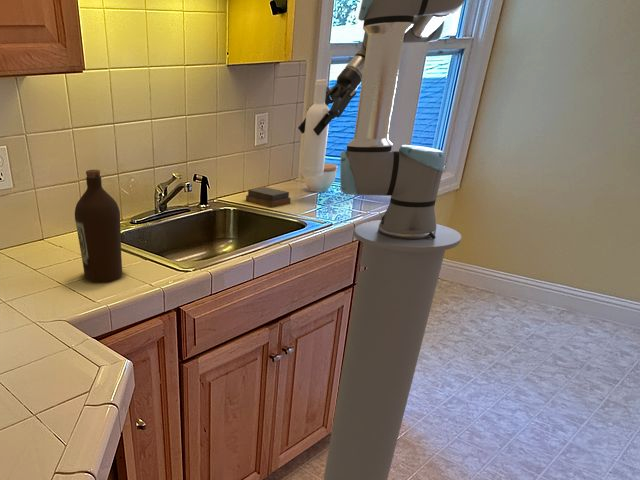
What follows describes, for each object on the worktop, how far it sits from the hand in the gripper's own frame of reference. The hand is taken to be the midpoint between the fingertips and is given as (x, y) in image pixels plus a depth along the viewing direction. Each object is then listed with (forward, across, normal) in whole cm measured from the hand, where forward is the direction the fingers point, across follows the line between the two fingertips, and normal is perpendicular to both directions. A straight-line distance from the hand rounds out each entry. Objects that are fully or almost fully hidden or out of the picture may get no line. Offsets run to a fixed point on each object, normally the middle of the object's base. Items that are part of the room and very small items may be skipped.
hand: (308, 131), depth 171 cm
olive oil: (+79, -38, +44) cm, 98 cm away
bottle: (+8, 0, -13) cm, 15 cm away
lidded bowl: (+4, +14, -30) cm, 33 cm away
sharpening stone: (+24, +7, -10) cm, 27 cm away
